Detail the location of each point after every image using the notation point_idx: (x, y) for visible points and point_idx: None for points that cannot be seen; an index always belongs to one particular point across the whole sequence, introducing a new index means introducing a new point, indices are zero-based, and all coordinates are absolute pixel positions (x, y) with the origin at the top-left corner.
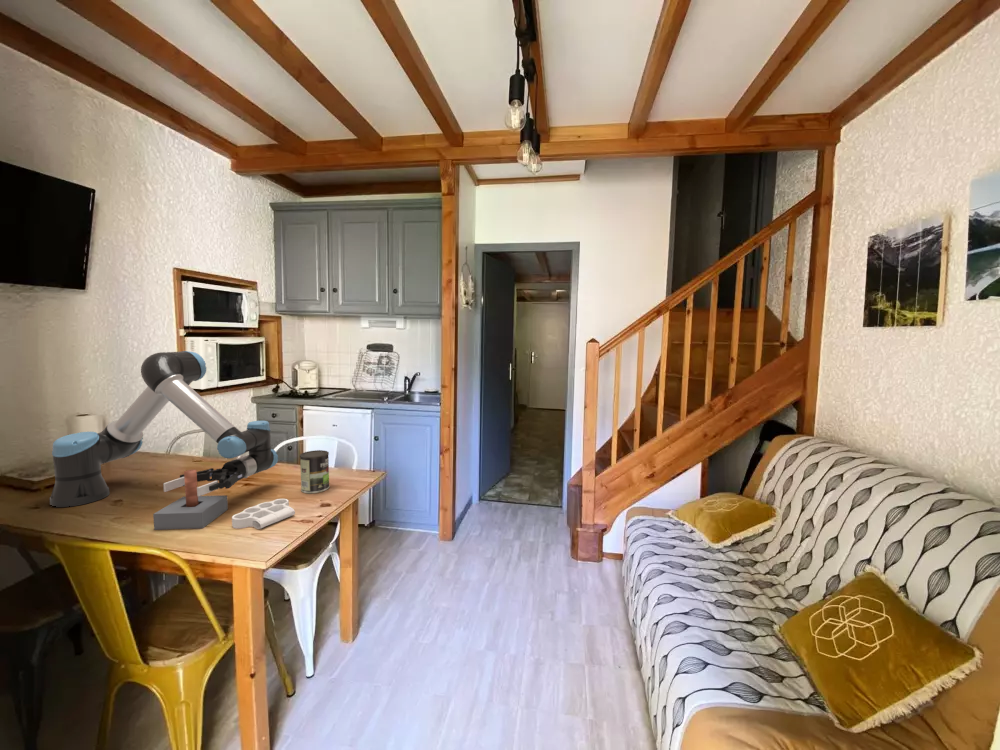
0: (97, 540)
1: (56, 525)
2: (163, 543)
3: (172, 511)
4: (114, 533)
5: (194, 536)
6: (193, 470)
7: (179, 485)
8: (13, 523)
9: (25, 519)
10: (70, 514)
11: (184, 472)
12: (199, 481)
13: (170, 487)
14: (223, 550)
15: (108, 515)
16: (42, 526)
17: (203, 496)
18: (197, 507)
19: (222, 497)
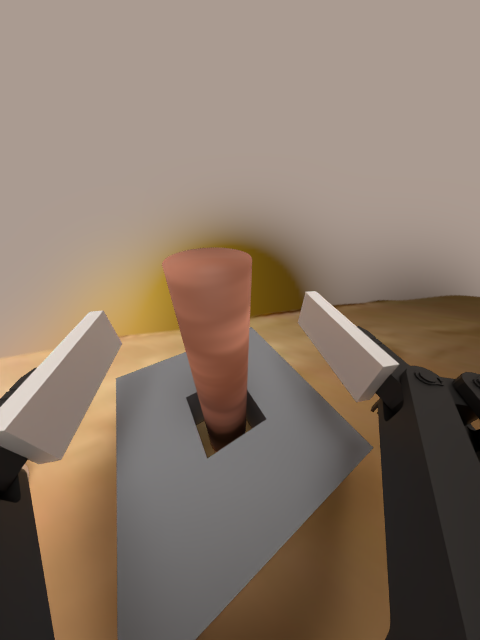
0: (284, 311)
1: (407, 309)
2: (170, 338)
3: None
4: (295, 326)
5: (126, 373)
6: (196, 266)
7: (333, 362)
8: (453, 295)
9: (470, 302)
10: (475, 328)
11: (219, 248)
12: (385, 512)
13: (310, 326)
14: (10, 365)
15: (428, 350)
16: (413, 303)
17: (288, 518)
18: (170, 396)
19: (132, 606)
